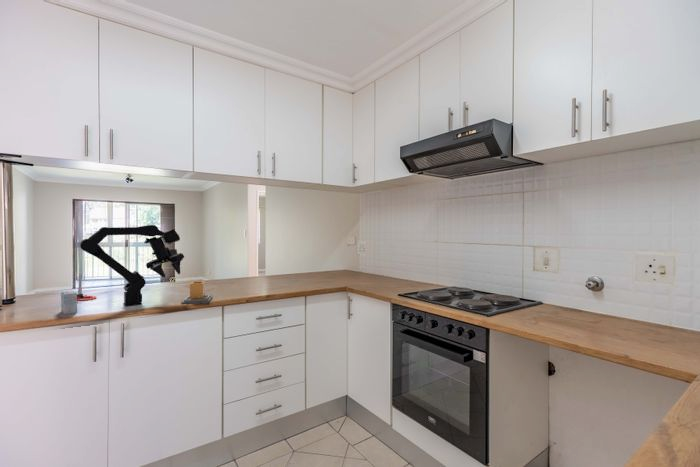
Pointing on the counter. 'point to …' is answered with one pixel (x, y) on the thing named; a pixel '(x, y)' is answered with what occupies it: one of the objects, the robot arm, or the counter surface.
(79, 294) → the tow hook
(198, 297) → the orange wooden block
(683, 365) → the counter surface
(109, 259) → the robot arm
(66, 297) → the medicine box
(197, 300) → the post plate
